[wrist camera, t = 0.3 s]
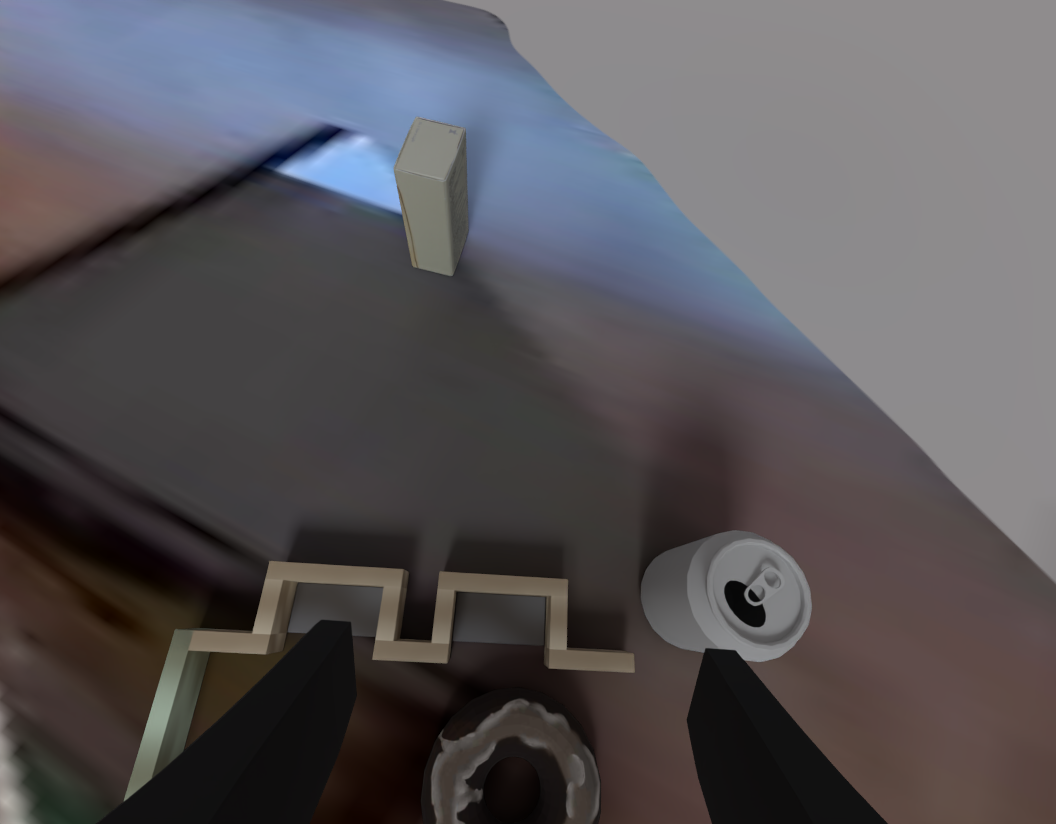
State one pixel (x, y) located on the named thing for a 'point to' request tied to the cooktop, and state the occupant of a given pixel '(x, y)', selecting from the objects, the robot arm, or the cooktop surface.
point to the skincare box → (434, 194)
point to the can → (728, 596)
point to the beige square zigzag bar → (365, 633)
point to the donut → (507, 731)
